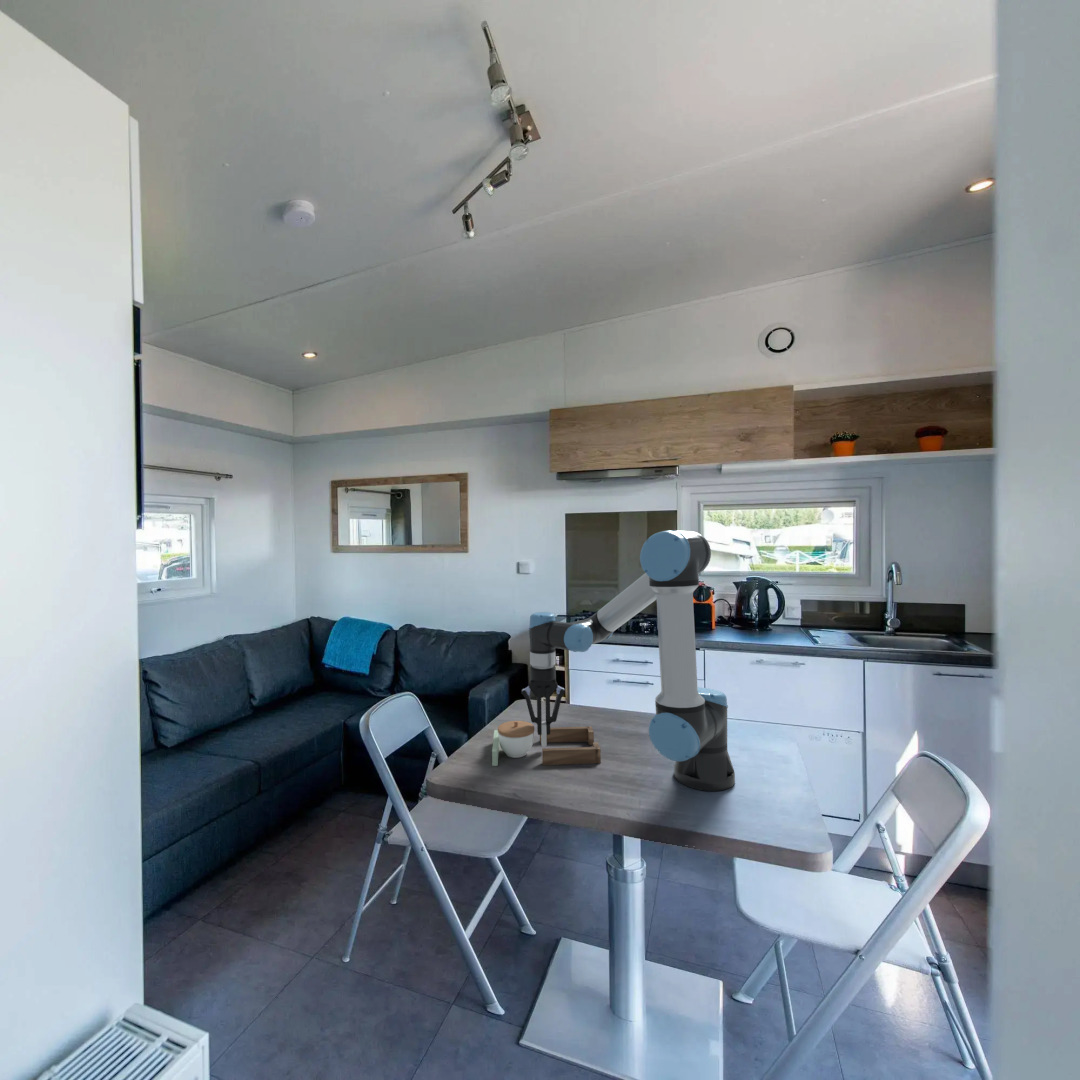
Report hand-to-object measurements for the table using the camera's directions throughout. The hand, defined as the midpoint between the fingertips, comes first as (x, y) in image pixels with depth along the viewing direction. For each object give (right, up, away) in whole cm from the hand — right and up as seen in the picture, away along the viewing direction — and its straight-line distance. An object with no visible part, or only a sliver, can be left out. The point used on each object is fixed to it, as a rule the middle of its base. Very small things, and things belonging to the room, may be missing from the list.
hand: (544, 745), depth 153 cm
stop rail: (-14, -2, -1) cm, 14 cm away
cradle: (+7, -2, 0) cm, 7 cm away
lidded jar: (-8, -2, -1) cm, 9 cm away
